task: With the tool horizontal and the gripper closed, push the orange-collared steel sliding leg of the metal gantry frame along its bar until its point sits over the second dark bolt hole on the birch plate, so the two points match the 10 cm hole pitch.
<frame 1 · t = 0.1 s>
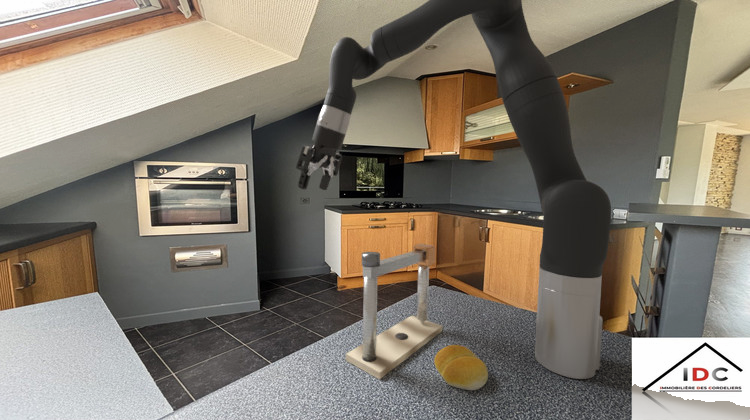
hand: (312, 188, 74), 31 cm above the countertop, tool tilted 20°, fingers open, 8 cm apart
metal gantry frame: (401, 292, 57), on the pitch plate, point 11 cm above the countertop
sliding leg: (423, 283, 64), point 10 cm above the countertop, slide at 8.0 cm
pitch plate: (395, 346, 57), on the countertop
bread roll: (459, 375, 49), on the countertop
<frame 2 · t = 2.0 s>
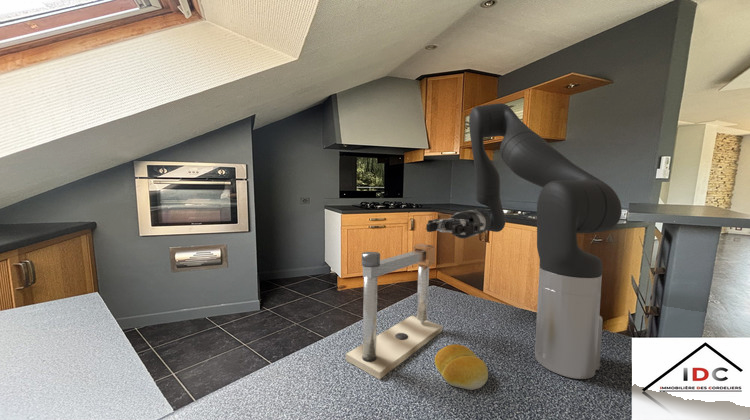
hand: (440, 228, 69), 22 cm above the countertop, tool horizontal, fingers open, 6 cm apart
nothing on the countertop moved.
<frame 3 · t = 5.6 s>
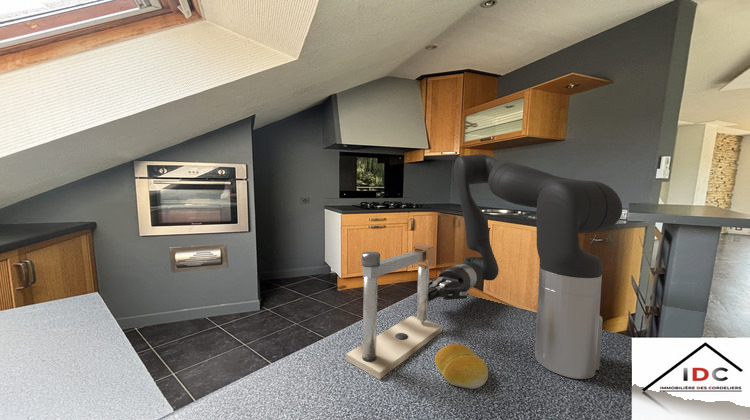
hand: (425, 296, 65), 7 cm above the countertop, tool horizontal, fingers closed
sliding leg: (423, 283, 64), point 10 cm above the countertop, slide at 8.0 cm, touching gripper
everything else where it was.
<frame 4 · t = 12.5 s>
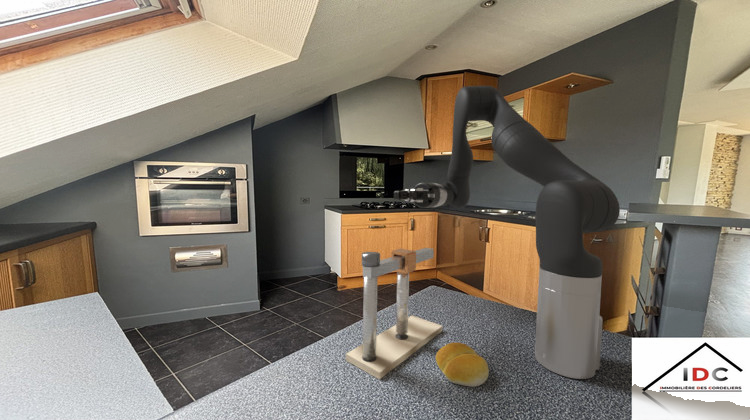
hand: (396, 195, 74), 30 cm above the countertop, tool horizontal, fingers closed
sliding leg: (402, 293, 58), point 10 cm above the countertop, slide at 0.0 cm
everything else where it was.
at the end: sliding leg slide at 0.0 cm; bread roll moved 1.1 cm from its start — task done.
